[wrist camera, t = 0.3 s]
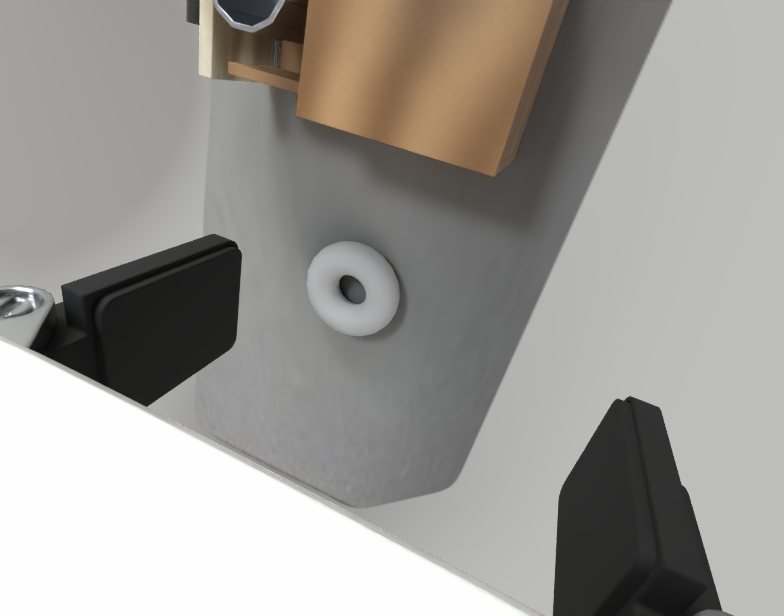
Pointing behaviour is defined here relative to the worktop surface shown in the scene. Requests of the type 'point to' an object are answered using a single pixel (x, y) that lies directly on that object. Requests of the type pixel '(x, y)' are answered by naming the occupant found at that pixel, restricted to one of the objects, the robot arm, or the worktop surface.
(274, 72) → the drawer
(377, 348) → the worktop surface
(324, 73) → the cabinet
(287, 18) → the measuring cup
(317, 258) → the donut
